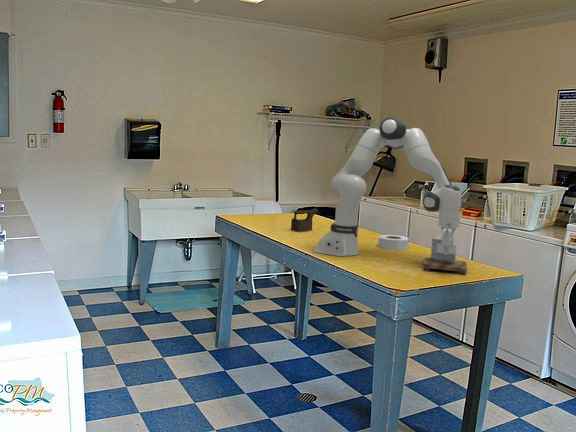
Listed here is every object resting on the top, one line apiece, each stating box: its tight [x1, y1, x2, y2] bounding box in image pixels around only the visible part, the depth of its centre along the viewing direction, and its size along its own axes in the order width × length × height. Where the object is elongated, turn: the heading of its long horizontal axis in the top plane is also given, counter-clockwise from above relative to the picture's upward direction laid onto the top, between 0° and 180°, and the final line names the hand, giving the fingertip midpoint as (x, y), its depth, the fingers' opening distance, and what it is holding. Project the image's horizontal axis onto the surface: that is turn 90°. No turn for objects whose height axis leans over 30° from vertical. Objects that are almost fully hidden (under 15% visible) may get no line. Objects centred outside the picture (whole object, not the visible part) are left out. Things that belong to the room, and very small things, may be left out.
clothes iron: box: [290, 207, 319, 233], centre depth 322 cm, size 8×16×13 cm, turn 121°
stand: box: [423, 257, 468, 276], centre depth 238 cm, size 18×14×3 cm
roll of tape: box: [377, 234, 409, 251], centre depth 283 cm, size 16×16×6 cm
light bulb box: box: [430, 235, 455, 259], centre depth 258 cm, size 11×7×11 cm, turn 141°
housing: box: [436, 244, 457, 261], centre depth 237 cm, size 5×8×6 cm, turn 70°
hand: (446, 253), depth 237 cm, fingers closed on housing, 5 cm apart
